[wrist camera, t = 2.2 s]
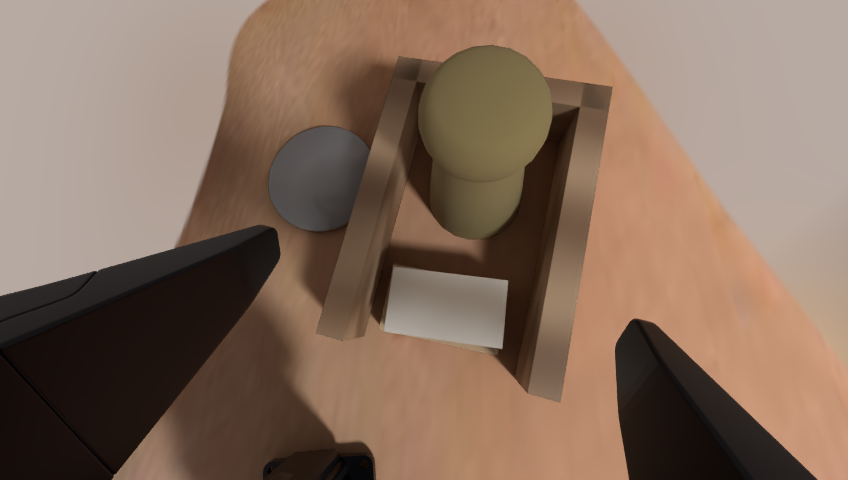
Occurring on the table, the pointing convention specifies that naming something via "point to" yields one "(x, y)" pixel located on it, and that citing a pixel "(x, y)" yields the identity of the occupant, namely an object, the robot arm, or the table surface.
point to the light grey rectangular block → (446, 308)
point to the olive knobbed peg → (482, 136)
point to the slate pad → (318, 178)
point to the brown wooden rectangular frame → (561, 239)
